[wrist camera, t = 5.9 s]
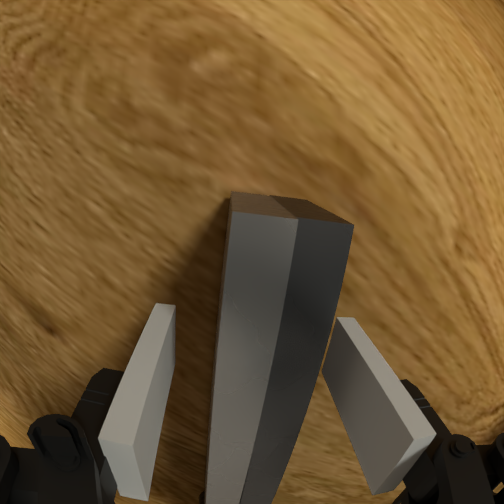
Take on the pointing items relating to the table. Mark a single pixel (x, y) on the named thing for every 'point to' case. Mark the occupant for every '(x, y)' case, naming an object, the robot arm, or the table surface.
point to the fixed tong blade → (298, 342)
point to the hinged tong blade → (245, 335)
